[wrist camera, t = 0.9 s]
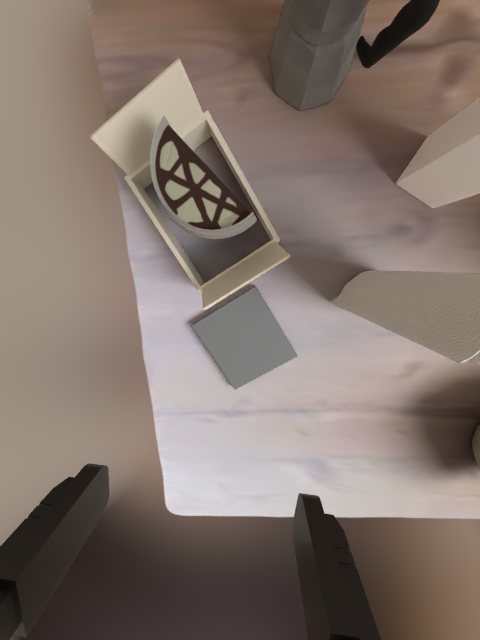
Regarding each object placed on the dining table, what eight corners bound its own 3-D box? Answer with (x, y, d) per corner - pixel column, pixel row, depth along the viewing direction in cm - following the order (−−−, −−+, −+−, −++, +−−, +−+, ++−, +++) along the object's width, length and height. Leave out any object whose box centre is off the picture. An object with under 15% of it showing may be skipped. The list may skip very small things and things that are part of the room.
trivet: (255, 286, 33) (255, 286, 32) (296, 353, 35) (297, 356, 34) (193, 324, 35) (191, 326, 34) (235, 386, 36) (234, 389, 36)
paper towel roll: (397, 278, 31) (682, 302, 10) (377, 319, 33) (591, 410, 12) (348, 261, 31) (538, 249, 10) (330, 302, 33) (463, 365, 12)
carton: (203, 111, 28) (183, 51, 20) (285, 257, 32) (295, 253, 24) (128, 172, 30) (84, 139, 22) (212, 302, 34) (200, 313, 26)
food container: (160, 198, 31) (117, 167, 21) (190, 161, 30) (159, 110, 20) (225, 264, 32) (212, 264, 23) (256, 232, 31) (257, 216, 21)
